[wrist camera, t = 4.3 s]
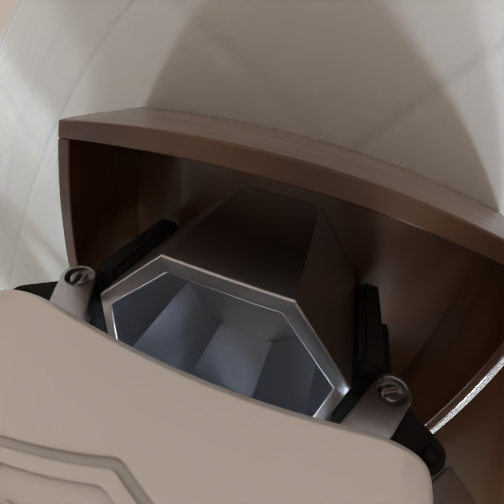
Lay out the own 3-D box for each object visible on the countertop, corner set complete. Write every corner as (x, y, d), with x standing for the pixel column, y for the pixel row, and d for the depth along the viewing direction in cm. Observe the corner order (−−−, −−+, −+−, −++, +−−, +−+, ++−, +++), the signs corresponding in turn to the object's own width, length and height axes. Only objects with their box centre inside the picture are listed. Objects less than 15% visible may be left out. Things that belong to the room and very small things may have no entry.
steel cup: (182, 307, 14) (121, 388, 10) (194, 172, 11) (91, 228, 6) (316, 354, 13) (292, 457, 9) (374, 225, 10) (391, 330, 5)
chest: (139, 309, 16) (92, 360, 13) (142, 107, 11) (57, 119, 7) (388, 393, 14) (386, 463, 10) (500, 213, 8) (560, 272, 4)
